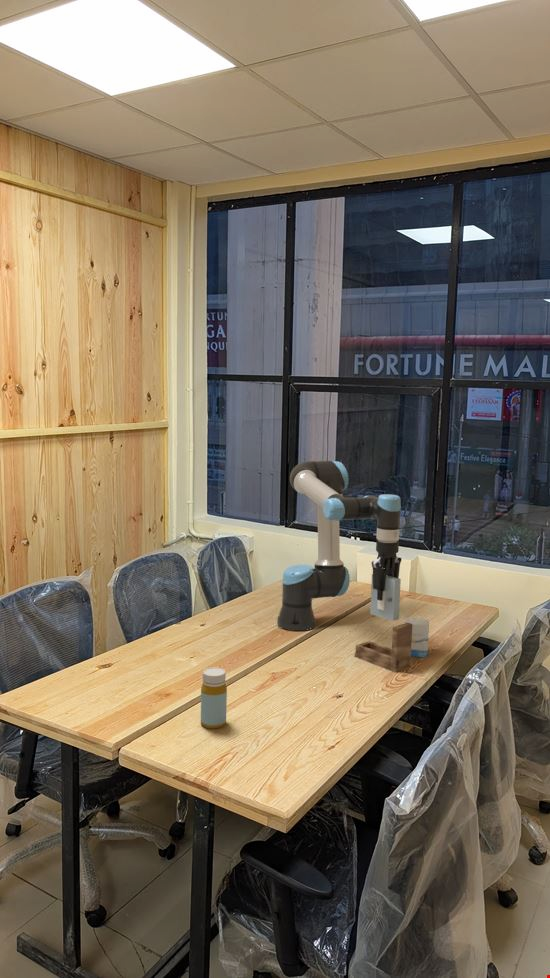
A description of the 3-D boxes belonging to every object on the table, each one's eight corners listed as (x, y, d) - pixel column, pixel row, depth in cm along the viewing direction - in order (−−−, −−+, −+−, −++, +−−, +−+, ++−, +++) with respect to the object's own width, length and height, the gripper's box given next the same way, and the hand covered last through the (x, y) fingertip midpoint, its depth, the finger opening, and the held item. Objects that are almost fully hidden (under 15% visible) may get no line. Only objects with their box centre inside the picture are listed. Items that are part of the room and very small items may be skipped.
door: (368, 614, 244) (369, 574, 242) (375, 612, 247) (377, 573, 245) (391, 621, 237) (393, 580, 235) (398, 619, 239) (400, 578, 238)
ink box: (427, 658, 248) (429, 626, 247) (402, 655, 250) (404, 624, 248) (427, 649, 257) (429, 618, 255) (403, 647, 258) (405, 616, 257)
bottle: (200, 718, 198) (201, 666, 196) (225, 717, 198) (226, 666, 196) (200, 729, 191) (201, 676, 189) (226, 729, 192) (227, 676, 190)
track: (354, 656, 248) (356, 615, 246) (369, 651, 253) (371, 610, 251) (395, 672, 235) (397, 628, 233) (410, 666, 240) (412, 624, 238)
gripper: (381, 545, 231) (377, 615, 234) (411, 539, 241) (408, 606, 244) (363, 541, 236) (360, 609, 239) (393, 536, 247) (390, 601, 250)
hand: (384, 608), depth 242 cm, fingers closed on door, 3 cm apart
